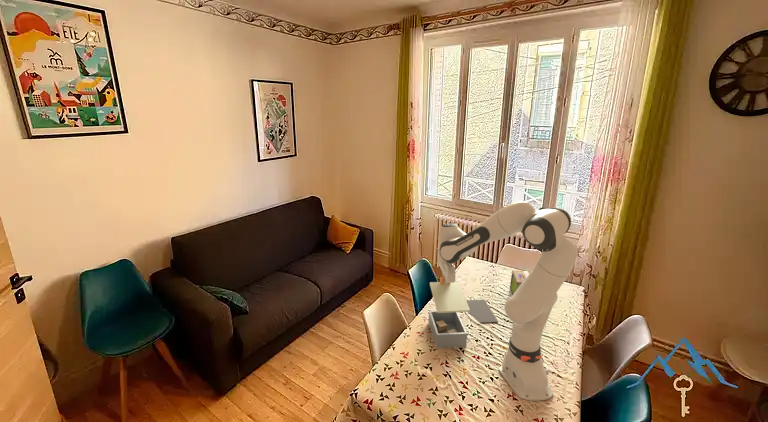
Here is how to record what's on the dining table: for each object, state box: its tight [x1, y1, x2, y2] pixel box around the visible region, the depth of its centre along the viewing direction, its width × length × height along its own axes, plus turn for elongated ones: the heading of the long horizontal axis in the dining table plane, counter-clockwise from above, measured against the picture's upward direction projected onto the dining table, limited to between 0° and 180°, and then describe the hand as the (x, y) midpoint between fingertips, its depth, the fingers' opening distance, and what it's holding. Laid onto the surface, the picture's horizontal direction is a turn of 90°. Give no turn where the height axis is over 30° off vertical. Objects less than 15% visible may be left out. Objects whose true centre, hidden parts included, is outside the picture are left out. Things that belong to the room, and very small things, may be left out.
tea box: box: [509, 269, 531, 297], centre depth 192 cm, size 15×10×15 cm
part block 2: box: [447, 329, 458, 333], centre depth 160 cm, size 4×4×4 cm
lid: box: [429, 275, 470, 313], centre depth 158 cm, size 19×15×6 cm
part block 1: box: [436, 320, 447, 334], centre depth 166 cm, size 4×4×4 cm
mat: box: [466, 299, 499, 324], centre depth 183 cm, size 20×16×1 cm
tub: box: [428, 310, 468, 349], centre depth 163 cm, size 18×14×8 cm
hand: (445, 281), depth 164 cm, fingers closed on lid
